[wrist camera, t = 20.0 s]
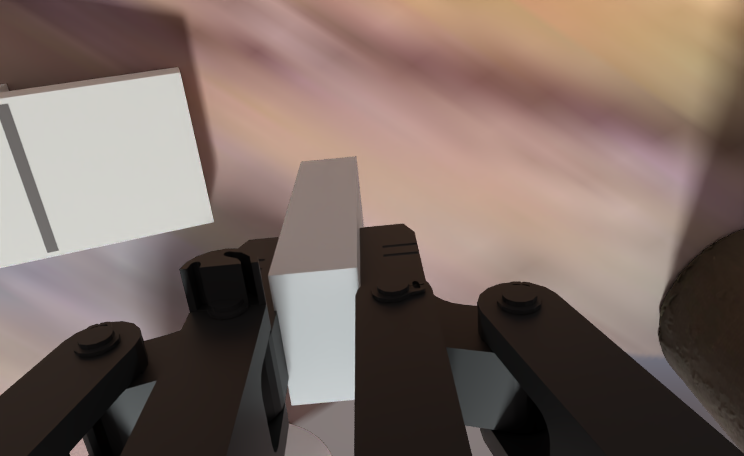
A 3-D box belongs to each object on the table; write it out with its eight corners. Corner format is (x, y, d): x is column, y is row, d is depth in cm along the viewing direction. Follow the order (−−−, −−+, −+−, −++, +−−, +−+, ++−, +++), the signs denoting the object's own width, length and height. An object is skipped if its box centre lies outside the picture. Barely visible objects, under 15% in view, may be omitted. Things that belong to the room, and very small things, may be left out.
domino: (209, 206, 26) (-108, 272, 23) (177, 66, 23) (-182, 118, 20) (213, 222, 24) (-130, 295, 21) (180, 72, 22) (-213, 129, 18)
